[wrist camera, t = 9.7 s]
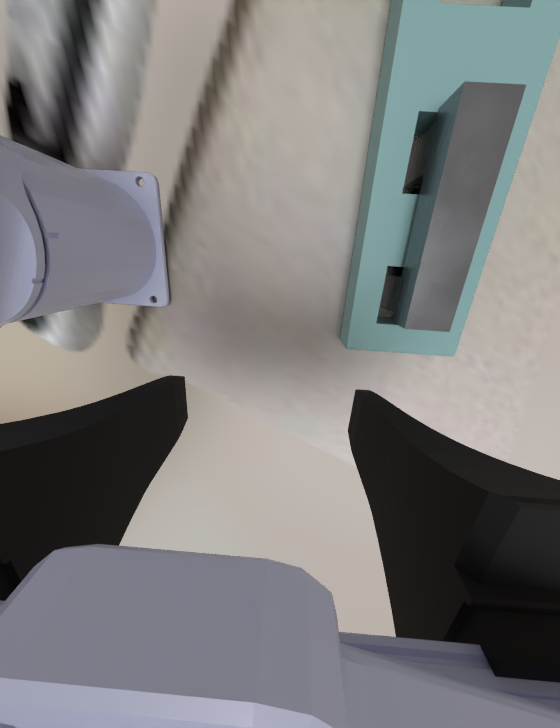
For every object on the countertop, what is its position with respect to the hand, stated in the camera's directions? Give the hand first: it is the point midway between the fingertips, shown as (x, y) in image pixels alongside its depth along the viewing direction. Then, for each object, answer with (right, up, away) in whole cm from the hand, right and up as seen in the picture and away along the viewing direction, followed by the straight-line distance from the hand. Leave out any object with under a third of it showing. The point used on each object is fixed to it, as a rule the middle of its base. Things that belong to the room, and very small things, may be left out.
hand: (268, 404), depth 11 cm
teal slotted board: (+9, +13, +5) cm, 17 cm away
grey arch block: (+9, +10, +6) cm, 14 cm away
